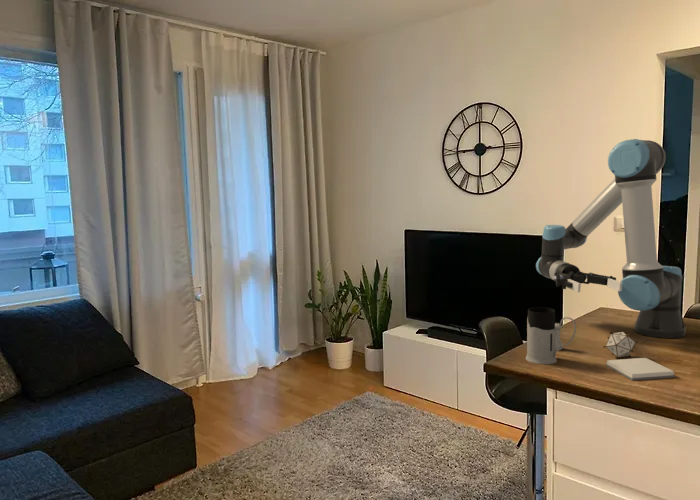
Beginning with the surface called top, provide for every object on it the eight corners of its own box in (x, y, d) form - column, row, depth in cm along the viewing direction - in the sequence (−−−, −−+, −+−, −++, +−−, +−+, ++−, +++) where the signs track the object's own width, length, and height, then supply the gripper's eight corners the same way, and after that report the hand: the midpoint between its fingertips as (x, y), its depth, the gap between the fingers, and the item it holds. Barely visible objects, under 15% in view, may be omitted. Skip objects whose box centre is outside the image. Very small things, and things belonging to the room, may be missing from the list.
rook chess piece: (545, 347, 173) (545, 322, 172) (559, 346, 174) (559, 321, 173) (551, 351, 169) (551, 326, 168) (565, 350, 169) (565, 325, 168)
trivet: (645, 362, 155) (645, 357, 155) (674, 377, 143) (674, 371, 143) (605, 365, 154) (605, 360, 154) (631, 380, 142) (631, 374, 142)
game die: (626, 371, 160) (644, 350, 153) (597, 360, 161) (614, 339, 154) (625, 349, 166) (642, 328, 160) (597, 338, 167) (613, 317, 161)
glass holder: (532, 353, 167) (532, 305, 166) (580, 361, 159) (580, 310, 157) (520, 360, 161) (521, 311, 159) (570, 369, 152) (571, 317, 150)
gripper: (597, 283, 192) (636, 298, 171) (530, 284, 188) (561, 300, 168) (599, 262, 190) (638, 274, 170) (531, 263, 187) (562, 276, 166)
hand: (600, 287), depth 169 cm, fingers open, 13 cm apart
